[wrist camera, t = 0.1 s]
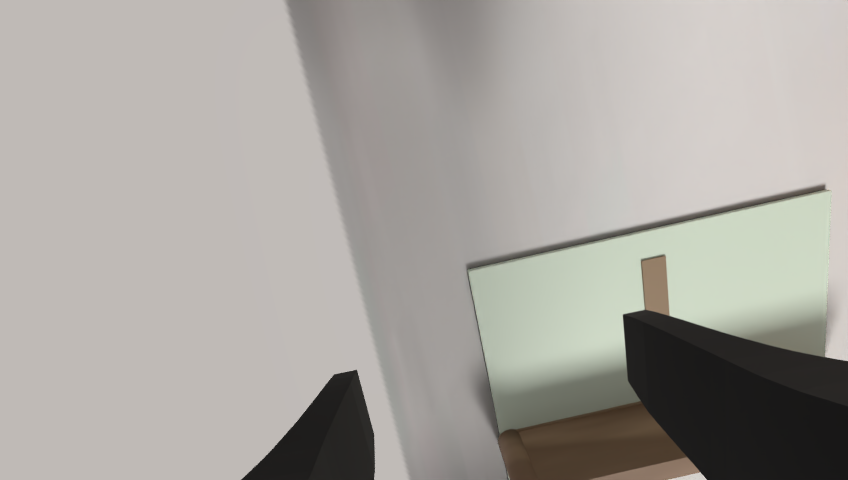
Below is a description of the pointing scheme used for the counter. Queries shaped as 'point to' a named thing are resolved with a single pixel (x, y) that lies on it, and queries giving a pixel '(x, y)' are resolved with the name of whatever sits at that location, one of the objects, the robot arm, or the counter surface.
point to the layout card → (647, 303)
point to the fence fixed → (595, 449)
